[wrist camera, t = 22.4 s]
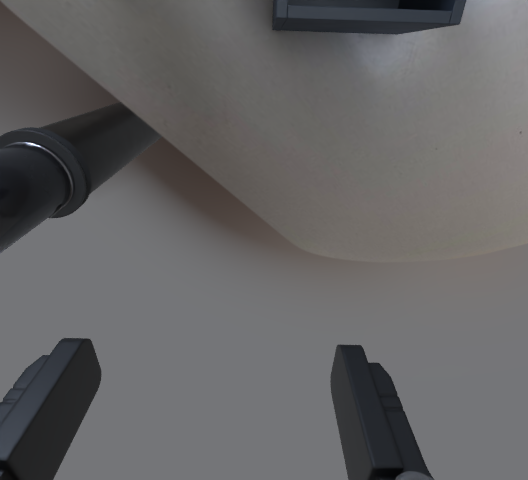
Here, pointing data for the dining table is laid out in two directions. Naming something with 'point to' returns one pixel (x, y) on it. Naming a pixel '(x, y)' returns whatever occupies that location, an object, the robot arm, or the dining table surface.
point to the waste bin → (366, 15)
